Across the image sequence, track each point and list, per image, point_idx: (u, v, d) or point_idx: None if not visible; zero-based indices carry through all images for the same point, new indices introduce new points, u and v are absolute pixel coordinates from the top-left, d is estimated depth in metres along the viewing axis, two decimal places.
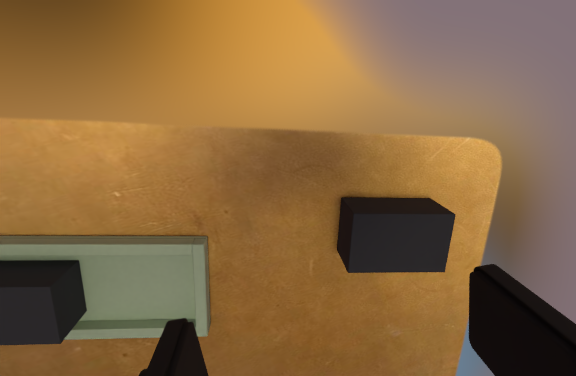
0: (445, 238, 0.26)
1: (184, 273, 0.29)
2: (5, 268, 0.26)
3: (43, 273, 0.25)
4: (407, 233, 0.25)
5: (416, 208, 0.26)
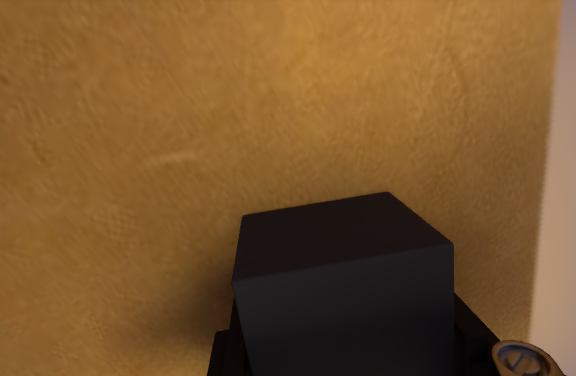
0: None
1: None
2: None
3: None
4: None
5: None
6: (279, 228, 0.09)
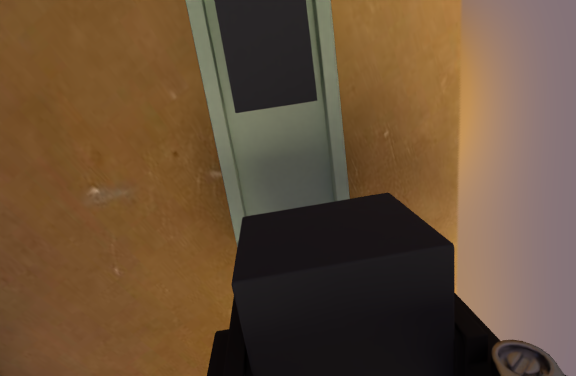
0: None
1: None
2: None
3: None
4: None
5: None
6: (279, 229, 0.09)
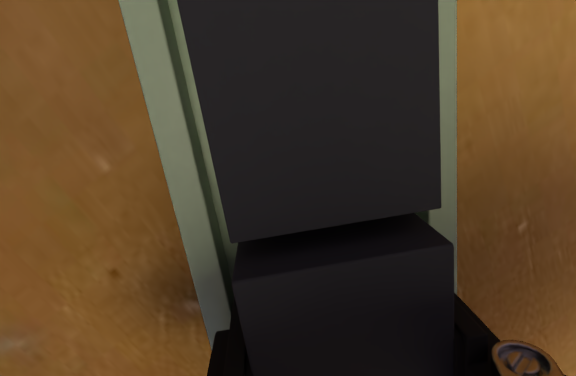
0: None
1: None
2: None
3: None
4: None
5: None
6: None
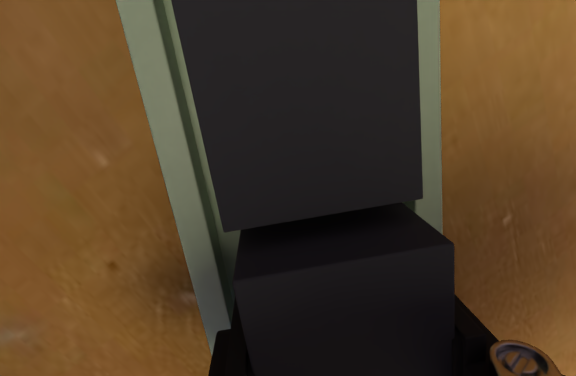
0: None
1: None
2: None
3: None
4: None
5: None
6: (280, 228, 0.09)
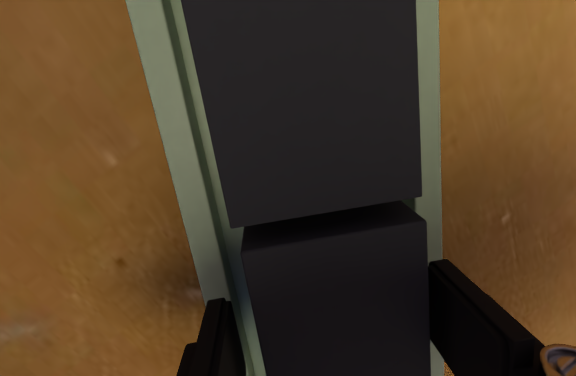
0: None
1: None
2: None
3: None
4: (378, 364, 0.10)
5: None
6: None
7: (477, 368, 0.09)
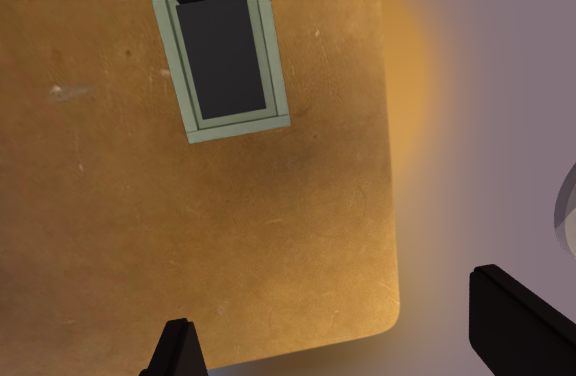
0: (239, 106, 0.25)
1: None
2: None
3: None
4: (236, 63, 0.24)
5: None
6: None
7: None
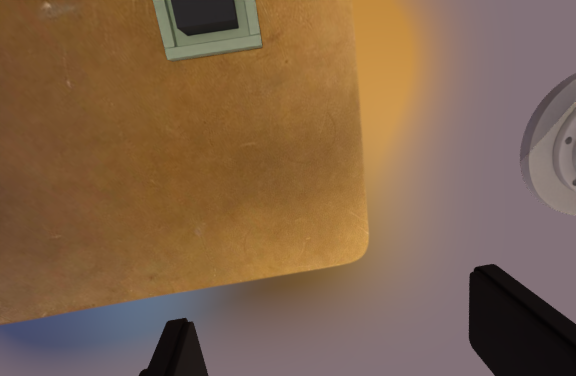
0: (210, 16, 0.28)
1: None
2: None
3: None
4: None
5: None
6: None
7: None
